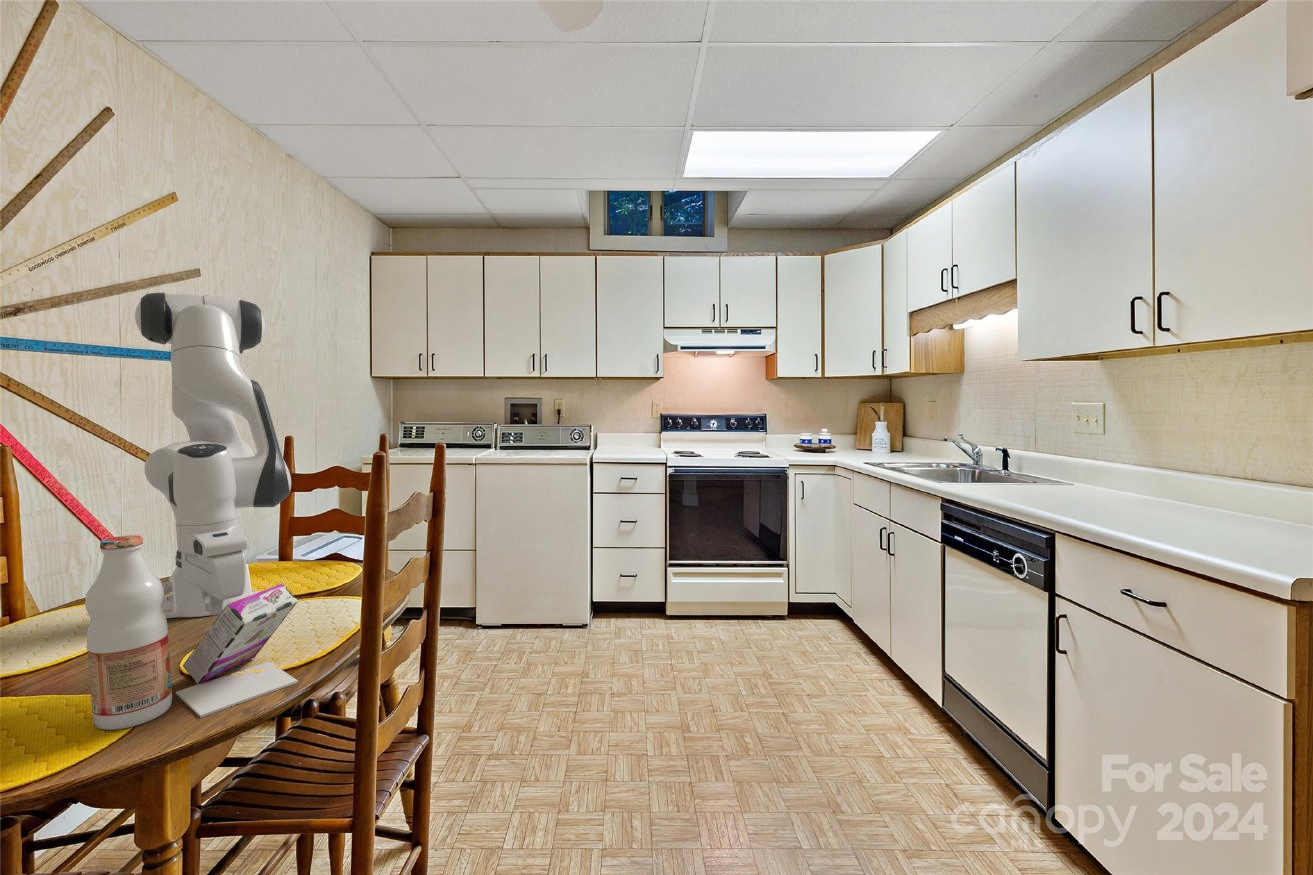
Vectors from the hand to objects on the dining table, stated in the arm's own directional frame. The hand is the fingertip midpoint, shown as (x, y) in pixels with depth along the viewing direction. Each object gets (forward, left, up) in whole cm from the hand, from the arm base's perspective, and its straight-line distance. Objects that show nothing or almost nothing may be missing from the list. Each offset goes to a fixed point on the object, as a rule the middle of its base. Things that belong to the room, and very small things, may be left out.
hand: (214, 612), depth 108 cm
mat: (+10, 0, -11) cm, 15 cm away
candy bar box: (0, 0, -9) cm, 9 cm away
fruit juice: (+6, -13, -11) cm, 18 cm away
